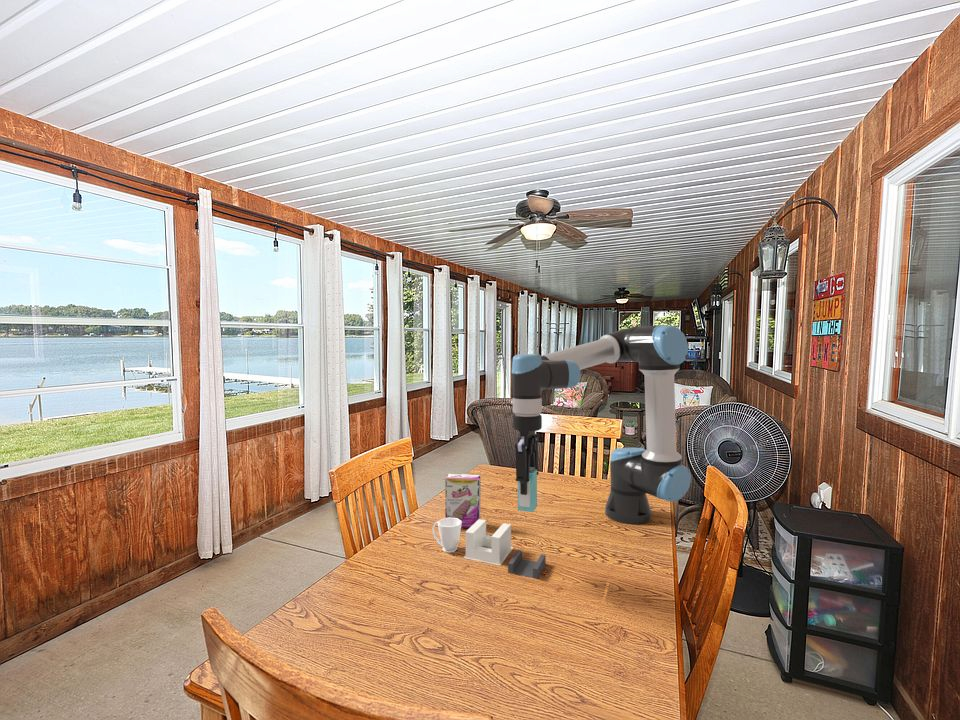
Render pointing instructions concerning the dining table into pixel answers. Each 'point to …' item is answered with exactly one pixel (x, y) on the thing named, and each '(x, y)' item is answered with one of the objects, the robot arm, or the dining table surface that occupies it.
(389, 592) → the dining table surface
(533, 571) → the holster
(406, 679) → the dining table surface
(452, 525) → the cup
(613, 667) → the dining table surface
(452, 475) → the candy bar box
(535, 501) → the plug
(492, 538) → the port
